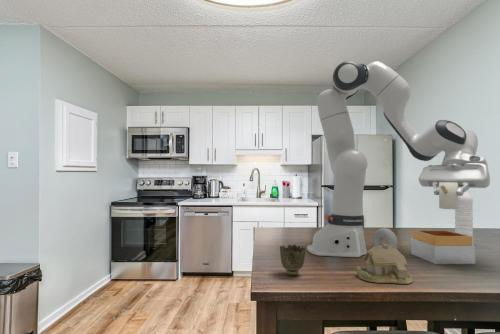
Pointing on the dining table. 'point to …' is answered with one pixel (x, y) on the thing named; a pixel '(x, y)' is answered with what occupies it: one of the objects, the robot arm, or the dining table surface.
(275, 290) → the dining table surface
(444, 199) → the spout can
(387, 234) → the donut
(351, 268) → the dining table surface
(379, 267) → the ceramic model
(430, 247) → the white orange open box
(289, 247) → the cup
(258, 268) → the dining table surface
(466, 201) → the water bottle
